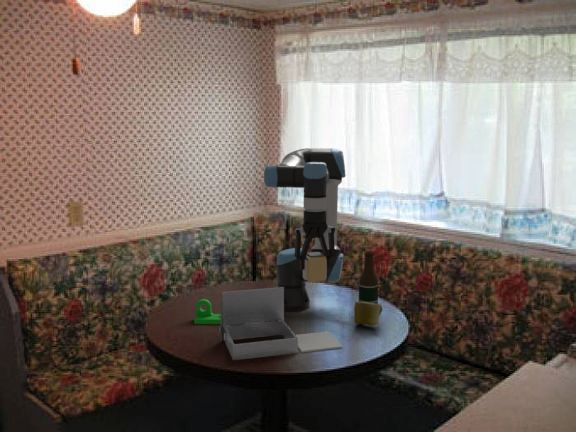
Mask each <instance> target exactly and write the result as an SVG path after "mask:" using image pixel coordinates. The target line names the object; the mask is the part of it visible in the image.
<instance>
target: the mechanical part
mask: <svg viewBox="0 0 576 432" xmlns="http://www.w3.org/2000/svg"><path fill="white" fill-rule="evenodd" d="M202 305H203V306H205V307H206V309H202ZM212 310H213V309H212V303H211V302H210V300H208V299H206V298H202V299H200V300H198V301H197V303H196V305H195V315H196V316H195V317H194V318H193V323H194V325H221V318H220V313H213V311H212Z"/></svg>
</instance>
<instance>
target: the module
mask: <svg viewBox="0 0 576 432" xmlns="http://www.w3.org/2000/svg"><path fill="white" fill-rule="evenodd" d="M305 259H306V260H307V281H308V283H311V282H312V283H314V282H315V281H326V257H325V256H324V255H323V254H321V253H320V252H307V255H306V258H305ZM315 283H316V282H315Z"/></svg>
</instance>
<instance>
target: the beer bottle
mask: <svg viewBox="0 0 576 432" xmlns="http://www.w3.org/2000/svg"><path fill="white" fill-rule="evenodd" d="M374 255H375V253H374V251H372V250H366V251H364V262H363V263H364V266H363V270H362V272H361V274H360V276H359V278H358V302H367V303H373V304H375V303H376V304H379V279H378V277H377V275H376V273H375V270H374V267H375V265H374Z"/></svg>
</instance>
